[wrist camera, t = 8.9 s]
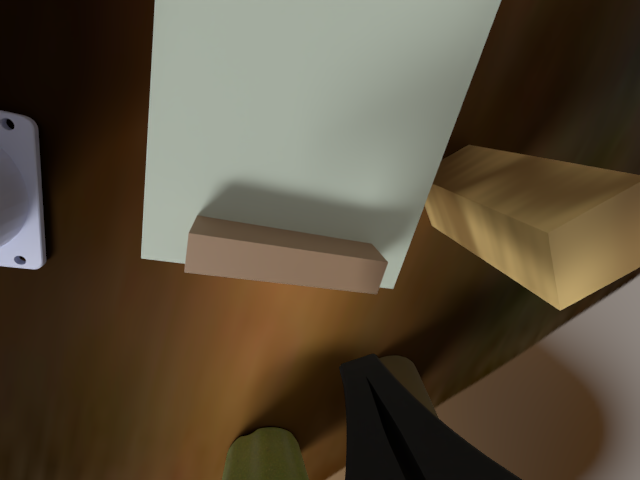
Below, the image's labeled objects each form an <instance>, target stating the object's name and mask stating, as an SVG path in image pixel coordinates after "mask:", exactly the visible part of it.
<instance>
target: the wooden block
mask: <svg viewBox="0 0 640 480" xmlns="http://www.w3.org/2000/svg"><path fill="white" fill-rule="evenodd" d="M425 208H426V211H427V213H428V216H429V219H430V222H431V225H432V226H433V227H435V228H436V229H438V230H439V231H441V232H442V233H444V234H445V235H447V236H448V237H450V238H451V239H453V240H454V241H456V242H457V243H459V244H460V245H462V246H463V247H465V248H466V249H468V250H469V251H471V252H472V253H474V254H475V255H477V256H478V257H480V258H482V259H483V260H485V261H486V262H488V263H489V264H491V265H492V266H494V267H495V268H497V269H498V270H500V271H501V272H503V273H504V274H506V275H507V276H509V277H510V278H512V279H513V280H515V281H516V282H518V283H519V284H521V285H522V286H524V287H525V288H527V289H528V290H530V291H531V292H533V293H534V294H536V295H537V296H539V297H540V298H542V299H543V300H545V301H546V302H548V303H550V304H551V305H553V306H554V307H556V308H557V309H559V310H560V311H561V310H562V309H564V308H566V307H568V306H570V305H571V304H573V303H575V302H577V301H579V300H581V299H582V298H584V297H586V296H588V295H590V294H592V293H593V292H595V291H597V290H599V289H601V288H602V287H604V286H606V285H608V284H610V283H612V282H613V281H615V280H617V279H619V278H621V277H623V276H624V275H626V274H628V273H630V272H632V271H634V270H635V269H637V268H639V267H640V175H635V174H629V173H624V172H618V171H613V170H607V169H601V168H596V167H590V166H585V165H579V164H574V163H568V162H562V161H557V160H551V159H546V158H540V157H535V156H529V155H523V154H518V153H512V152H507V151H501V150H496V149H490V148H484V147H479V146H473V145H467V146H466V147H464V148H462V149H460V150H459V151H457V152H455V153H453V154H451V155H450V156H448V157H446V158H444V159H442V160H441V162H440V165H439V168H438V170H437V173H436V176H435V178H434V181H433V184H432V186H431V189H430V192H429V194H428V197H427V200H426V202H425Z"/></svg>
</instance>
